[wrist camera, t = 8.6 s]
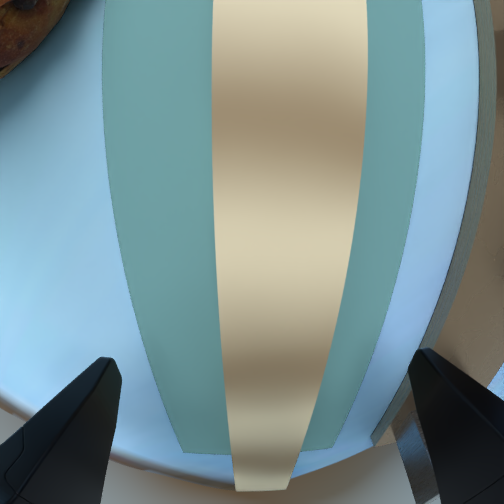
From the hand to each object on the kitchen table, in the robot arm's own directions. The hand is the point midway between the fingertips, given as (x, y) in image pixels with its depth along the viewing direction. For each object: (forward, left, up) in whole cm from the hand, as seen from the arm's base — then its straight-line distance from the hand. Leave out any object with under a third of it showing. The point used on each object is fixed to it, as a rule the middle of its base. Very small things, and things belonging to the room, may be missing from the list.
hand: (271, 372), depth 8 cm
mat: (0, 0, -4) cm, 4 cm away
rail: (0, 0, -3) cm, 3 cm away
